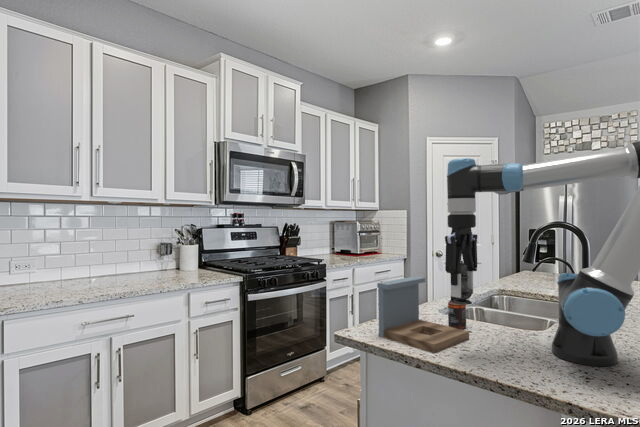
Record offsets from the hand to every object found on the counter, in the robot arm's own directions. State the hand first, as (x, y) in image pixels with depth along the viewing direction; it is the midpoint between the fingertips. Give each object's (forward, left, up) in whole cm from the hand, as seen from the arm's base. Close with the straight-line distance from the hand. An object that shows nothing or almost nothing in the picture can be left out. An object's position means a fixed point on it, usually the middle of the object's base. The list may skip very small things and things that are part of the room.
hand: (462, 295), depth 110 cm
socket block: (+15, -4, -17) cm, 23 cm away
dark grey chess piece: (0, 0, -2) cm, 2 cm away
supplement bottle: (+15, -23, -17) cm, 32 cm away
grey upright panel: (+25, -4, -17) cm, 30 cm away
